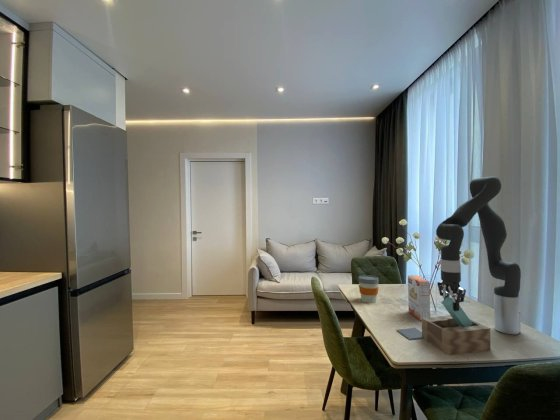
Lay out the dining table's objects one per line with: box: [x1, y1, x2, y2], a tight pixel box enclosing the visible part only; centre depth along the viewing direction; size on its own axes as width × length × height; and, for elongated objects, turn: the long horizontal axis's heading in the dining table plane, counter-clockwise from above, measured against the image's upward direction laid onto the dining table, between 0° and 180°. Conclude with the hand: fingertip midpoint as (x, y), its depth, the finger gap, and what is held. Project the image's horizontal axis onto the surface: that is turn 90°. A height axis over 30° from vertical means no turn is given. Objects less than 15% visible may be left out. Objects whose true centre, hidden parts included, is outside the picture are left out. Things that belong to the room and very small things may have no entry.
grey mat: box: [396, 327, 424, 341], centre depth 135 cm, size 10×10×1 cm
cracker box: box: [407, 274, 431, 321], centre depth 158 cm, size 14×6×21 cm, turn 179°
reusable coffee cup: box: [358, 274, 380, 304], centre depth 185 cm, size 13×13×15 cm
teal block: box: [441, 296, 473, 327], centre depth 126 cm, size 14×4×4 cm
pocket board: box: [421, 314, 491, 356], centre depth 125 cm, size 20×16×9 cm
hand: (451, 308), depth 125 cm, fingers closed on teal block, 4 cm apart
